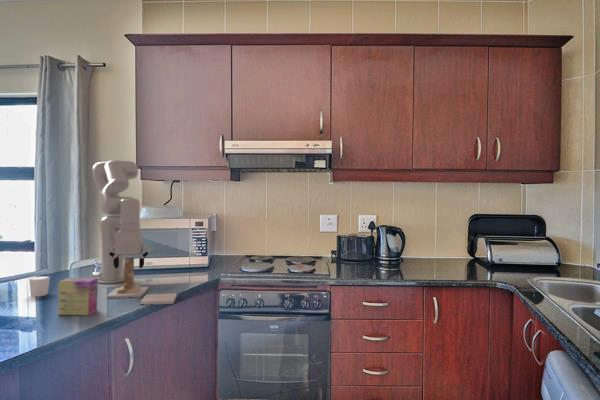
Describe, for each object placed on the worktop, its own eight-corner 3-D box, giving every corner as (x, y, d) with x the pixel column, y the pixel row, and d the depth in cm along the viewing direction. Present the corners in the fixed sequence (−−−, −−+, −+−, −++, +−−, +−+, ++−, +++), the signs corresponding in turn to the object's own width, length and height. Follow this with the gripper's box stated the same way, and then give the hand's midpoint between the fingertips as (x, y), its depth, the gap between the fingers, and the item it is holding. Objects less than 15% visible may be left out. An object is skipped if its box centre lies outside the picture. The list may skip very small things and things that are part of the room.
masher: (117, 293, 146) (117, 259, 146) (122, 289, 153) (122, 256, 152) (135, 292, 147) (135, 259, 147) (139, 288, 154) (140, 256, 154)
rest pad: (106, 298, 142) (106, 295, 142) (117, 289, 155) (117, 287, 155) (140, 297, 145) (141, 294, 145) (148, 288, 157) (148, 286, 157)
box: (97, 310, 127) (97, 277, 127) (88, 315, 122) (89, 281, 122) (68, 310, 127) (68, 277, 127) (57, 315, 121) (58, 281, 121)
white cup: (46, 291, 150) (46, 275, 150) (51, 294, 146) (52, 277, 146) (26, 294, 145) (26, 277, 145) (31, 298, 141) (31, 280, 140)
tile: (140, 301, 134) (173, 300, 137) (146, 294, 144) (176, 293, 147) (140, 306, 134) (173, 304, 137) (146, 298, 144) (176, 297, 147)
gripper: (104, 228, 144) (103, 269, 145) (149, 228, 147) (148, 269, 148) (110, 226, 152) (110, 266, 152) (153, 226, 155) (152, 265, 155)
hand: (129, 267), depth 150 cm, fingers open, 9 cm apart
